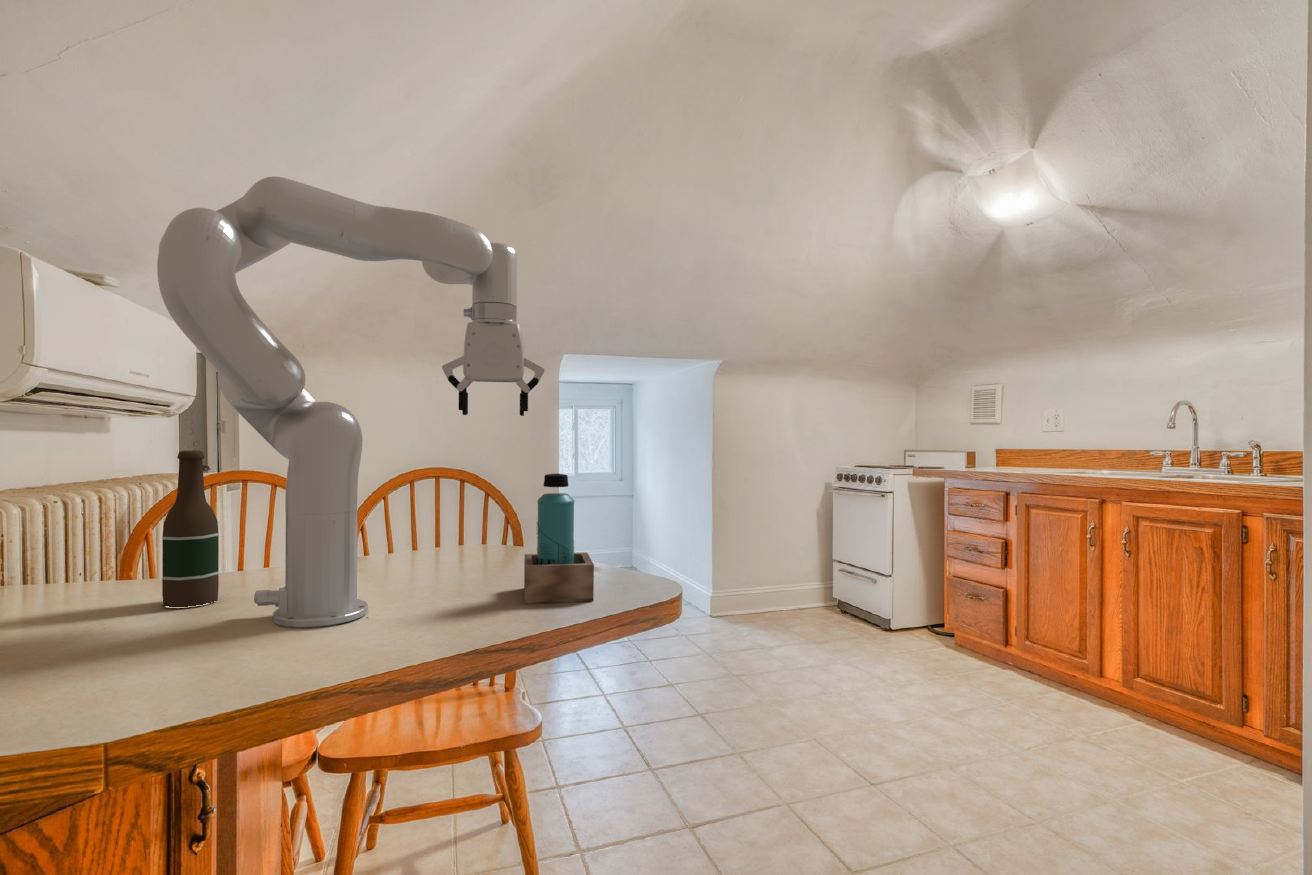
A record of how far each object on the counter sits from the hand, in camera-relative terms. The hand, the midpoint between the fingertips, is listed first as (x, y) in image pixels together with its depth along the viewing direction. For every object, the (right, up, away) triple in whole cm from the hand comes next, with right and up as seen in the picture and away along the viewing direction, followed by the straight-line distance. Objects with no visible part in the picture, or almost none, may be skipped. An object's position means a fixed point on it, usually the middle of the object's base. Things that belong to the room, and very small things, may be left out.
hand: (493, 415), depth 118 cm
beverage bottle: (+11, -30, -3) cm, 32 cm away
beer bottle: (-45, -30, -12) cm, 55 cm away
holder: (+12, -31, -3) cm, 33 cm away
